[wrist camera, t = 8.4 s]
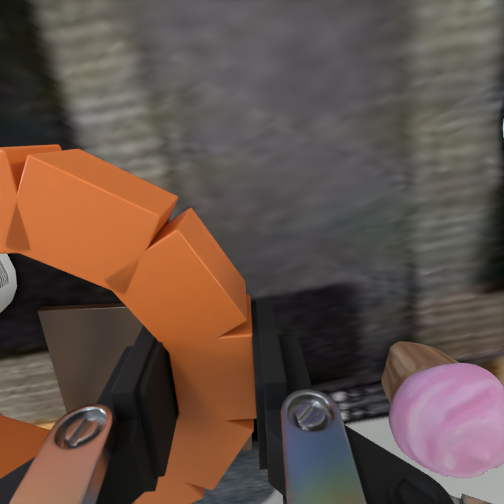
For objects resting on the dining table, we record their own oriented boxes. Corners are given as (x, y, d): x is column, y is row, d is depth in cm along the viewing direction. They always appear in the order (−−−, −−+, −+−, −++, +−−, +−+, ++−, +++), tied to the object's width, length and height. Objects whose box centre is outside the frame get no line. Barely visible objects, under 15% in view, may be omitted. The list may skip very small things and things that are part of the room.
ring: (241, 135, 9) (242, 136, 7) (259, 461, 14) (263, 524, 12) (-237, 159, 9) (-393, 169, 7) (-53, 483, 14) (-110, 552, 12)
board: (247, 297, 27) (248, 314, 25) (251, 443, 33) (253, 469, 31) (42, 306, 27) (21, 324, 24) (84, 453, 33) (71, 481, 30)
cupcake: (371, 318, 29) (437, 408, 19) (464, 321, 29) (571, 409, 20) (354, 396, 32) (404, 506, 22) (439, 397, 32) (521, 505, 23)
